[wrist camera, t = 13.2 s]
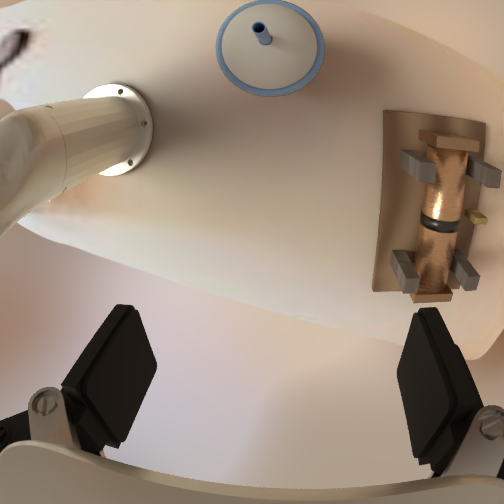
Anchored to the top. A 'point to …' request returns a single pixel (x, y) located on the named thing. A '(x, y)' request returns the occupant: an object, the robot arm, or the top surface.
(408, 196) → the collar board
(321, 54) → the cup with straw
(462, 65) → the top surface
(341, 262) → the top surface
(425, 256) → the copper tube
